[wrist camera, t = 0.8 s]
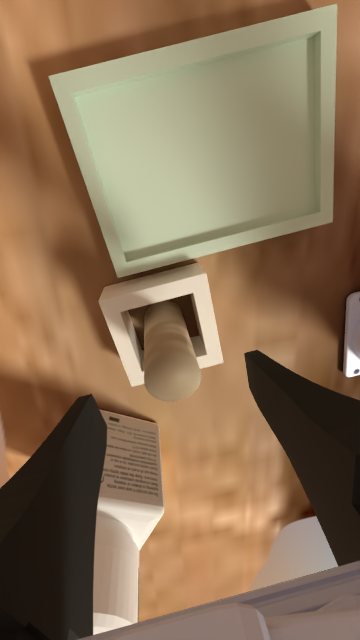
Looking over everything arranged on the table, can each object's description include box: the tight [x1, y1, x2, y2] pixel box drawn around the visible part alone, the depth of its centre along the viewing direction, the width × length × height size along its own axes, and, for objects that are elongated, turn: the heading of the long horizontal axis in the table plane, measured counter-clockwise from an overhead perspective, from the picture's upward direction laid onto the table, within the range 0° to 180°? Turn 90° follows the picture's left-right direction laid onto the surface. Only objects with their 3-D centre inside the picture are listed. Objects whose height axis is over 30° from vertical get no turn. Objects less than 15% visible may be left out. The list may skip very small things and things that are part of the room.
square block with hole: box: [98, 263, 223, 387], centre depth 19 cm, size 7×7×3 cm
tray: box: [48, 4, 337, 278], centre depth 15 cm, size 14×10×1 cm
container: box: [93, 409, 164, 635], centre depth 19 cm, size 8×8×13 cm
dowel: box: [144, 300, 201, 402], centre depth 17 cm, size 3×3×8 cm
